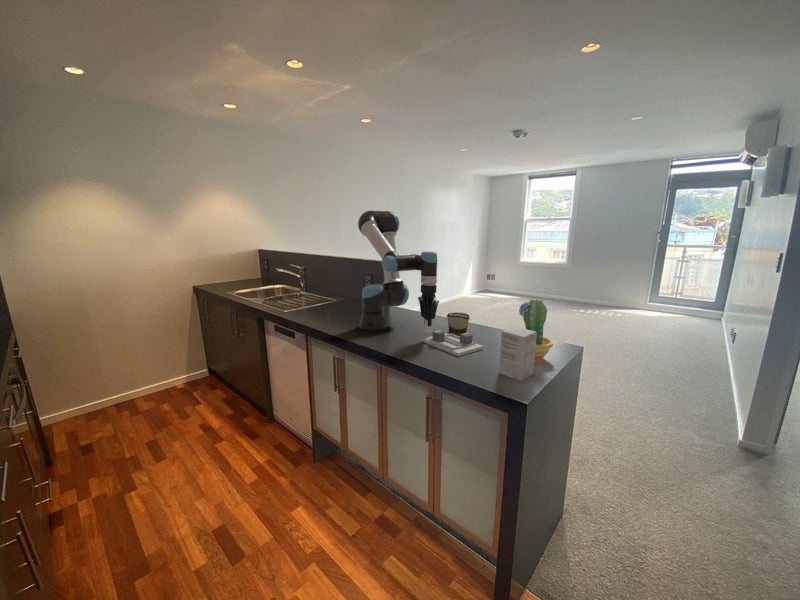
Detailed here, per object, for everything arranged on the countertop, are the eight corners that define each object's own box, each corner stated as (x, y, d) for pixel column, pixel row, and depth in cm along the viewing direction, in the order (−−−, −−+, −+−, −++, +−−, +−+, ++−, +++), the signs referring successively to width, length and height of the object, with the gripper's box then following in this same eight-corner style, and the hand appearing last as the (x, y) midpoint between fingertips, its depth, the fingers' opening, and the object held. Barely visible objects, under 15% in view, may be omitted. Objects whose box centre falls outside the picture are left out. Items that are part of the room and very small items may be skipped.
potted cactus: (520, 348, 153) (525, 295, 148) (556, 356, 143) (562, 299, 138) (507, 358, 141) (512, 300, 136) (545, 368, 131) (552, 306, 126)
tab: (432, 340, 158) (432, 330, 158) (438, 338, 161) (438, 329, 160) (438, 342, 155) (438, 332, 154) (444, 340, 158) (444, 331, 157)
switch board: (422, 341, 162) (422, 336, 161) (446, 335, 171) (446, 331, 170) (458, 356, 143) (458, 351, 142) (483, 349, 152) (483, 344, 151)
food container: (471, 332, 178) (472, 313, 176) (468, 335, 172) (469, 316, 170) (449, 329, 183) (449, 311, 181) (445, 332, 177) (446, 313, 175)
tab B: (459, 342, 155) (460, 333, 154) (465, 341, 157) (466, 331, 157) (466, 345, 152) (466, 335, 151) (472, 343, 154) (472, 333, 153)
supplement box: (511, 366, 132) (515, 325, 129) (533, 374, 125) (537, 331, 122) (497, 373, 126) (500, 330, 123) (520, 381, 119) (524, 336, 116)
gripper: (413, 283, 162) (413, 330, 167) (431, 286, 152) (430, 336, 156) (425, 282, 166) (424, 327, 171) (443, 285, 156) (442, 333, 161)
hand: (427, 331), depth 164 cm, fingers closed
